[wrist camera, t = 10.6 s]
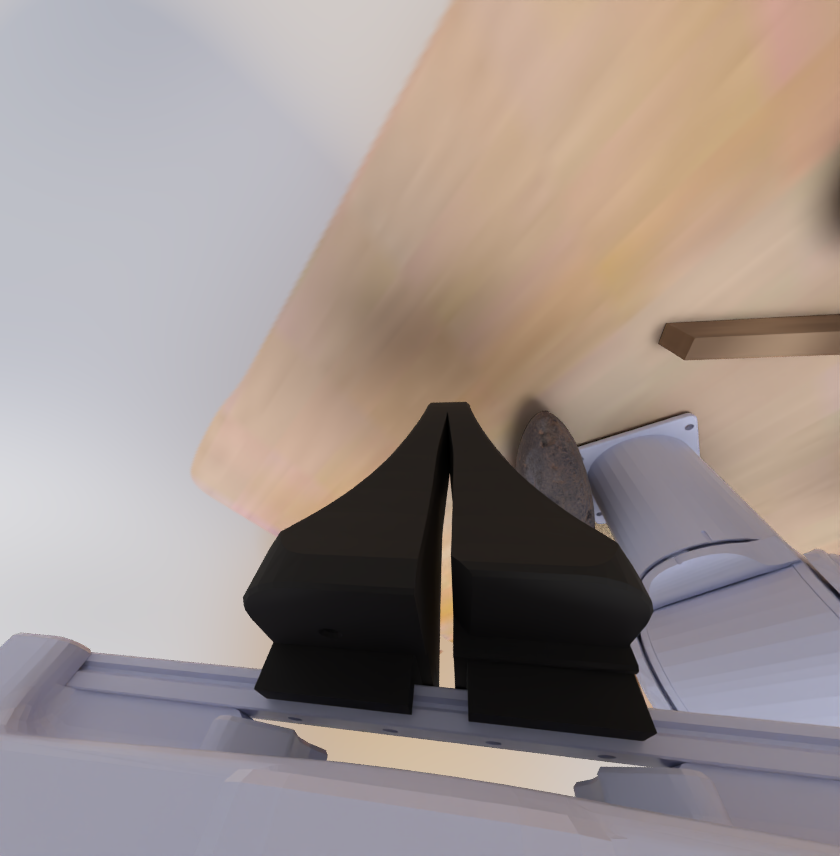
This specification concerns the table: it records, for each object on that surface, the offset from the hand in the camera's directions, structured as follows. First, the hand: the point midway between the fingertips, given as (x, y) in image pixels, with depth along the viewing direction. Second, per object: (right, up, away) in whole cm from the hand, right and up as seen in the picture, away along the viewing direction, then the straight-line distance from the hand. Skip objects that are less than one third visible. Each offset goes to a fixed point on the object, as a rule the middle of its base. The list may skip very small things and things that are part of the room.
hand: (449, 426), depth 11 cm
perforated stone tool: (+9, -4, +14) cm, 17 cm away
